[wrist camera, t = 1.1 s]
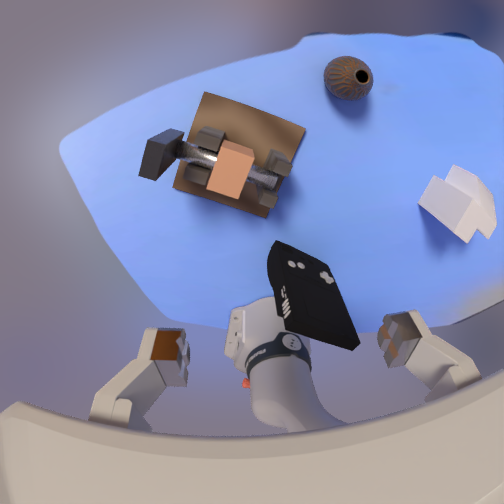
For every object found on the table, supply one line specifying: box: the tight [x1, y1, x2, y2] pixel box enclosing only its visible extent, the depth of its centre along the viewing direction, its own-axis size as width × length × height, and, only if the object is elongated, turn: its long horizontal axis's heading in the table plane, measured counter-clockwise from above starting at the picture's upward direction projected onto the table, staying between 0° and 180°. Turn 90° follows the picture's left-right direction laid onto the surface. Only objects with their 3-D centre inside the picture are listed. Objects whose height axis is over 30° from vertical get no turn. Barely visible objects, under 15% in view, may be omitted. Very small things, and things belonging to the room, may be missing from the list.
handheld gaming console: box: [267, 240, 360, 351], centre depth 43 cm, size 12×5×20 cm, turn 61°
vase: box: [324, 56, 373, 100], centre depth 32 cm, size 7×7×9 cm
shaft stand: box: [172, 92, 305, 218], centre depth 38 cm, size 16×16×10 cm
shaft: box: [139, 128, 278, 190], centre depth 32 cm, size 4×15×10 cm, turn 69°
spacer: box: [206, 140, 255, 199], centre depth 34 cm, size 5×4×6 cm
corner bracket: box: [418, 164, 497, 244], centre depth 40 cm, size 11×11×12 cm
